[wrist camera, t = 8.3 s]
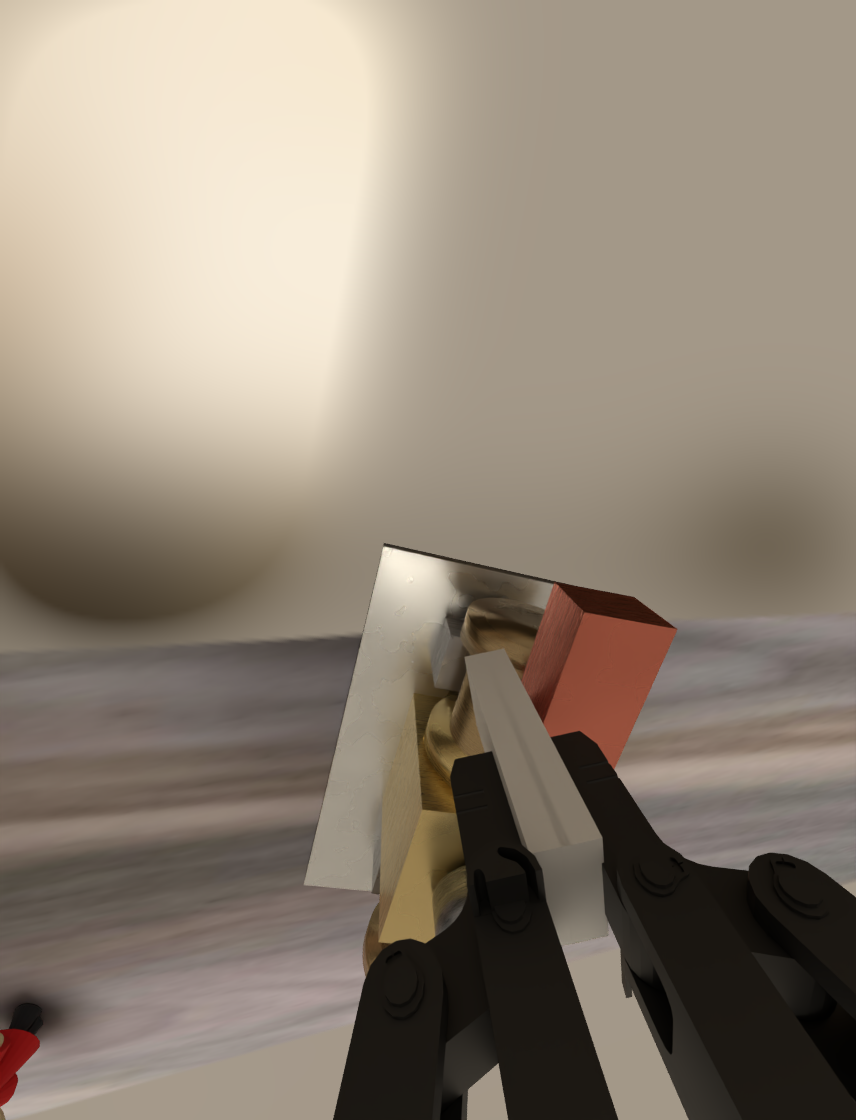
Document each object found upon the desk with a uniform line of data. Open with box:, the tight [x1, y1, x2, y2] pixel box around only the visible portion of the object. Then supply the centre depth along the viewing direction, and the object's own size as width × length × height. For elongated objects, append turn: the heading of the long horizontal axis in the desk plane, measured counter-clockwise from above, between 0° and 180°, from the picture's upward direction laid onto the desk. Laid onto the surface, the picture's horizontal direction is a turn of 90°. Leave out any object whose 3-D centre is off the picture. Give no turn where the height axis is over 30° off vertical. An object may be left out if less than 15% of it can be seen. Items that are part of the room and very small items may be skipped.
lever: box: [432, 582, 677, 936], centre depth 15 cm, size 16×4×2 cm, turn 167°
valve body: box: [304, 543, 569, 976], centre depth 22 cm, size 24×14×8 cm, turn 166°
